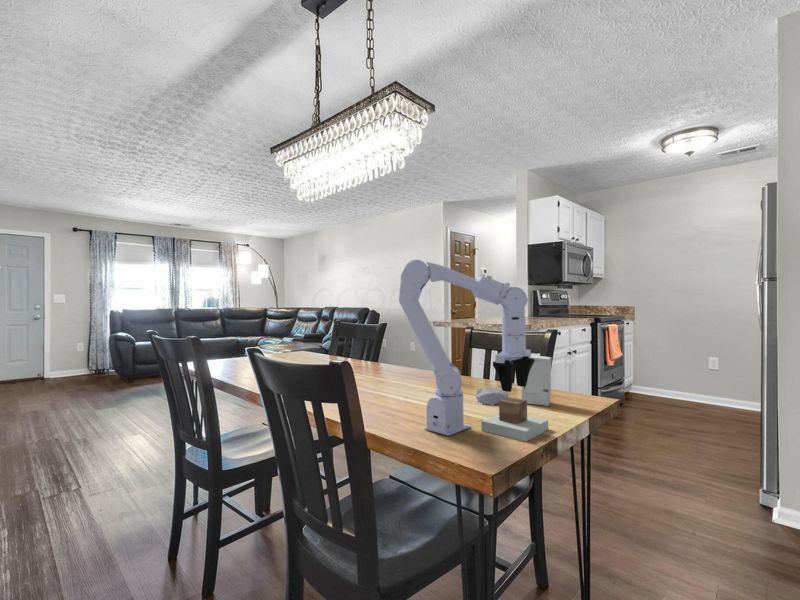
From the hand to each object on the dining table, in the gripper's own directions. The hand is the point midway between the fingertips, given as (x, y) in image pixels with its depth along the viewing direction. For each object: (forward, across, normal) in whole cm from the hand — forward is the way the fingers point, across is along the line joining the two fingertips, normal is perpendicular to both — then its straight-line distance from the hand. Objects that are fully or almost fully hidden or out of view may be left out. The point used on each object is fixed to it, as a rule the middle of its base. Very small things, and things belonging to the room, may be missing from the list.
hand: (514, 388), depth 100 cm
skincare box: (+11, +29, +8) cm, 32 cm away
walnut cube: (+8, 0, 0) cm, 8 cm away
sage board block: (+11, 0, 0) cm, 11 cm away
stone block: (+11, +22, +20) cm, 32 cm away
